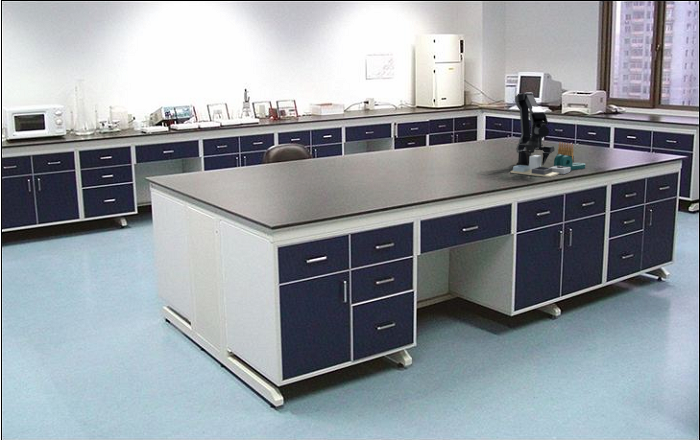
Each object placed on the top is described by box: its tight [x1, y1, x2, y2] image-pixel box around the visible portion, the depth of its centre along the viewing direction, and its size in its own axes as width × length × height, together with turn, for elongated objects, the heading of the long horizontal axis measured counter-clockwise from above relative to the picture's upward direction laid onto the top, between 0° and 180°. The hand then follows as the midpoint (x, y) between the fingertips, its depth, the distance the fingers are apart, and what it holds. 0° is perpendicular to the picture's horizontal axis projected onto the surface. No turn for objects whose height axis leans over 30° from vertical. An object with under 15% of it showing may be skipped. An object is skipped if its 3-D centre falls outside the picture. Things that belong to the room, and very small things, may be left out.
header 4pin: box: [532, 166, 552, 175], centre depth 368 cm, size 7×9×2 cm
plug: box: [528, 154, 542, 170], centre depth 384 cm, size 4×7×7 cm, turn 140°
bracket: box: [553, 154, 587, 171], centre depth 384 cm, size 18×7×8 cm, turn 117°
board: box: [510, 169, 559, 178], centre depth 371 cm, size 22×10×1 cm, turn 50°
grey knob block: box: [550, 165, 572, 175], centre depth 374 cm, size 8×8×3 cm
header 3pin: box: [512, 164, 531, 172], centre depth 376 cm, size 6×7×2 cm
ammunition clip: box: [556, 141, 575, 163], centre depth 398 cm, size 11×2×12 cm, turn 32°
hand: (535, 164), depth 384 cm, fingers open, 9 cm apart
